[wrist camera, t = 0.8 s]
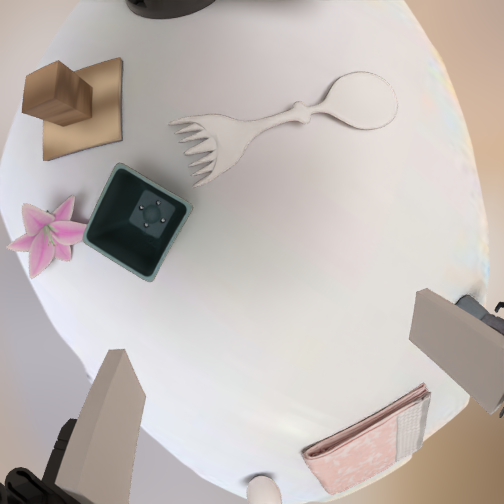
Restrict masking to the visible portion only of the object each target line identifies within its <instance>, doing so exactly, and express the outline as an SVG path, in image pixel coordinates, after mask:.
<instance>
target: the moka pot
mask: <svg viewBox="0 0 504 504" xmlns="http://www.w3.org/2000/svg"><path fill="white" fill-rule="evenodd" d="M456 306H458V307H459V308H461V309H463V310H464V311H466V312H468V313H469V314H471V315H472V316H474V317H476V318H477V319H479V320H480V321H482V322H483V323H485V324H486V325H489V326H492V327H494V328H496V329H497V330H499V331H500V332H501V334H502V333H503V334H504V319H502V318H500V317H495V316H494V315H492V314H489V312H488V311H487V310H486V309H485V308H484V307H483V306H481V305H480V304H479V303H478V302H477V301H476V300H475V299H474V298H473V297H471V296H469V295H468V296H465V297H463V298H462V299H461V300H460V301H459V302H458V303H457V304H456ZM501 307H502V308H504V302H499V303H498V305H497V306H496V308H495V312H496V313H497V312H498V310H499V309H500V308H501Z"/></svg>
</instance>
